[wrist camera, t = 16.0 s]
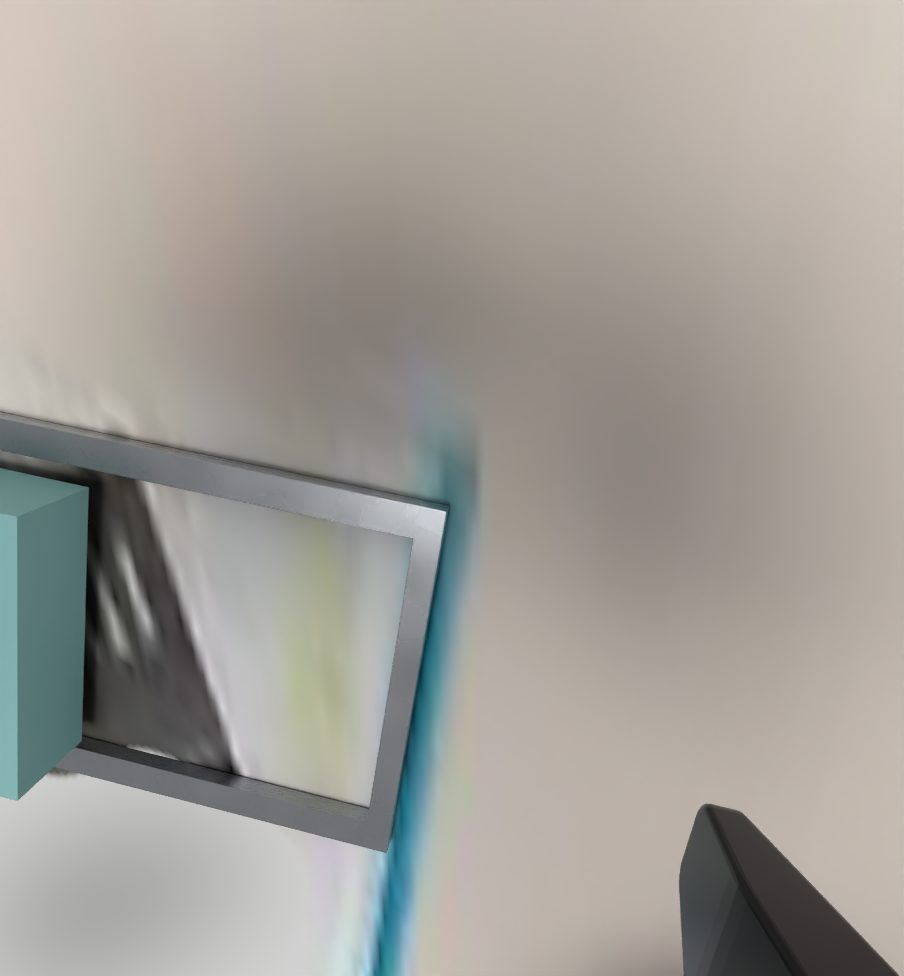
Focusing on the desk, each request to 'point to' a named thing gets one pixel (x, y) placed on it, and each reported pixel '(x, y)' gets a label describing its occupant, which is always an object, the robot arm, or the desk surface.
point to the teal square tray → (40, 625)
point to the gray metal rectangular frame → (290, 496)
